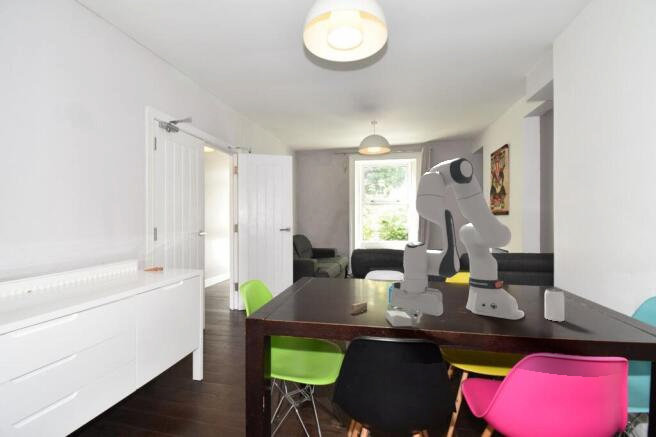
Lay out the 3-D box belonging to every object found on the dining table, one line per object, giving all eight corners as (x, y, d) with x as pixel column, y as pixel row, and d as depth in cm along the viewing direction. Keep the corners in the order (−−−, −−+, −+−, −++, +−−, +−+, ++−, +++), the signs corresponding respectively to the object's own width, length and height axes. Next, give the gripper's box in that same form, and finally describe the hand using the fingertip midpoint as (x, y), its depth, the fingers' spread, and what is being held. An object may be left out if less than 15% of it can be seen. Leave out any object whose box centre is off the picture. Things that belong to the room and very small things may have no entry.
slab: (411, 326, 117) (411, 318, 117) (393, 326, 116) (393, 318, 116) (403, 317, 127) (403, 310, 127) (386, 318, 126) (386, 310, 126)
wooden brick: (366, 310, 138) (367, 302, 138) (355, 313, 132) (355, 305, 132) (363, 309, 139) (363, 301, 139) (351, 312, 133) (351, 304, 133)
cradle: (418, 312, 134) (418, 302, 134) (404, 318, 126) (404, 307, 126) (402, 308, 140) (402, 298, 140) (388, 314, 132) (388, 303, 132)
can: (559, 323, 120) (558, 292, 121) (541, 318, 126) (541, 289, 126) (567, 320, 123) (567, 290, 124) (550, 316, 129) (549, 287, 129)
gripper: (446, 288, 111) (446, 327, 111) (396, 280, 125) (396, 314, 125) (438, 291, 107) (438, 331, 106) (388, 282, 121) (388, 318, 121)
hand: (415, 322), depth 116 cm, fingers closed
